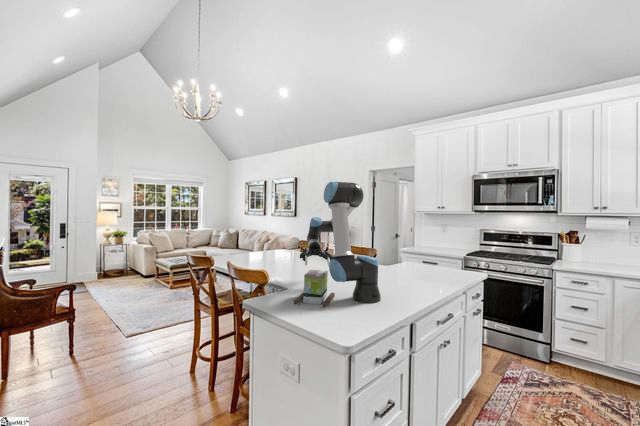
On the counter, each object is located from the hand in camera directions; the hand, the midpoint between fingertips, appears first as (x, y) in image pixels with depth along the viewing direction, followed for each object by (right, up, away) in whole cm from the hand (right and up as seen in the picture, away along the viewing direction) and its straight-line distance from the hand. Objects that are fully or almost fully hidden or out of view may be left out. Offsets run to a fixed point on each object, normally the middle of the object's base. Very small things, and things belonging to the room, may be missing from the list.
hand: (318, 264), depth 175 cm
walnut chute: (-2, -17, -13) cm, 21 cm away
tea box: (-1, -17, -12) cm, 21 cm away
